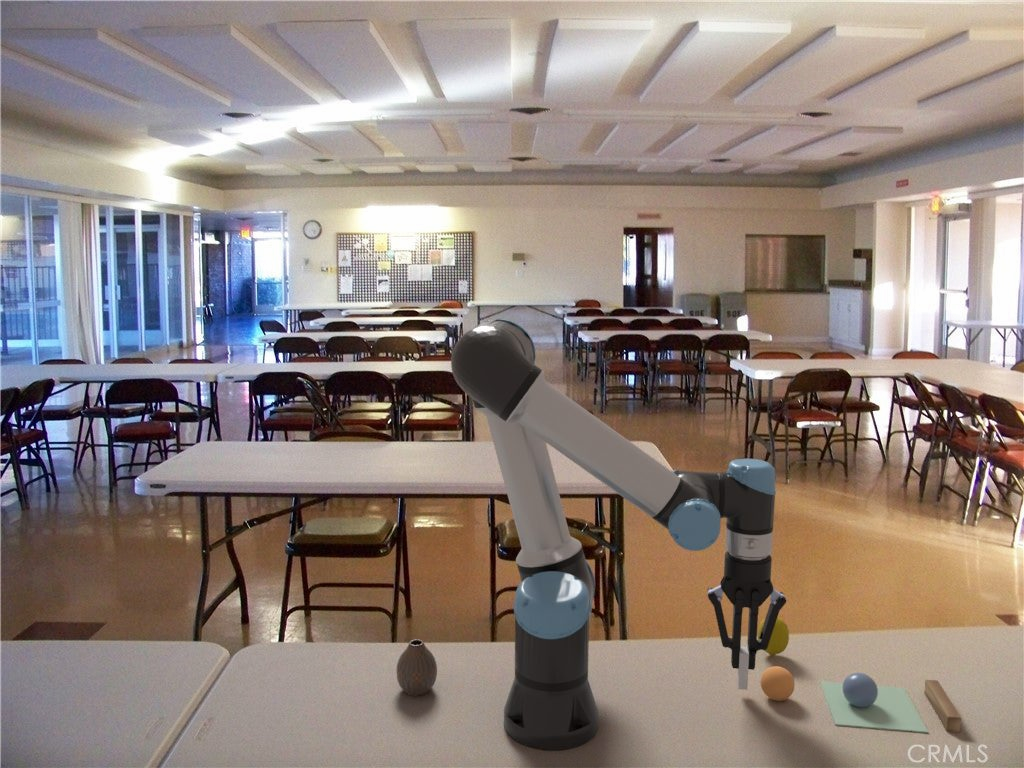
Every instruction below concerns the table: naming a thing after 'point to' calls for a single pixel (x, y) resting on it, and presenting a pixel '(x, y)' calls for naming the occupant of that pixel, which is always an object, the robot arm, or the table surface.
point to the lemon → (777, 637)
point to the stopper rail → (942, 706)
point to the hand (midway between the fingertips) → (742, 685)
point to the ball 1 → (777, 683)
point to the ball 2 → (860, 690)
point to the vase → (416, 669)
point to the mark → (874, 709)
